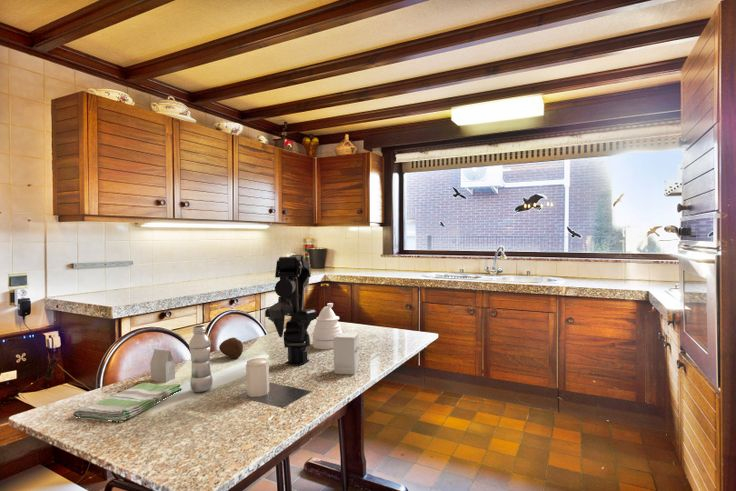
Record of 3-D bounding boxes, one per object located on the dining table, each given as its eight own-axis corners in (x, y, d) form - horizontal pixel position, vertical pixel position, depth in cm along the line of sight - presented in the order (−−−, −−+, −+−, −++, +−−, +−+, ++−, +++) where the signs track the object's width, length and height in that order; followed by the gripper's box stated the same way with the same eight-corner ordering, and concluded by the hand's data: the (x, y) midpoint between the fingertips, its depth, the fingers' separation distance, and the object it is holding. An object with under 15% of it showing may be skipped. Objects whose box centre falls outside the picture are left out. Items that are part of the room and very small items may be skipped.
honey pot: (348, 343, 179) (347, 302, 178) (330, 350, 168) (329, 306, 167) (325, 339, 186) (324, 300, 185) (306, 346, 175) (305, 304, 174)
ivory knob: (244, 392, 122) (243, 361, 122) (262, 387, 126) (261, 356, 126) (253, 398, 118) (252, 365, 118) (272, 392, 122) (271, 360, 122)
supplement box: (354, 374, 138) (353, 337, 137) (333, 374, 139) (332, 337, 139) (359, 367, 145) (358, 332, 145) (339, 367, 146) (338, 331, 146)
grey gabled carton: (166, 382, 136) (165, 352, 135) (151, 380, 138) (149, 350, 138) (175, 378, 139) (173, 349, 139) (160, 376, 142) (159, 347, 141)
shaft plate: (235, 399, 120) (235, 384, 120) (267, 384, 131) (267, 371, 131) (282, 410, 111) (282, 395, 111) (312, 393, 122) (312, 379, 122)
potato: (236, 361, 157) (236, 340, 157) (215, 359, 160) (215, 339, 160) (248, 355, 164) (247, 336, 163) (228, 354, 167) (227, 334, 167)
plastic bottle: (191, 396, 123) (188, 329, 122) (189, 389, 129) (187, 325, 128) (214, 392, 126) (211, 327, 125) (211, 385, 132) (209, 323, 131)
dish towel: (70, 420, 110) (69, 407, 110) (137, 388, 132) (137, 377, 132) (123, 425, 106) (123, 412, 106) (183, 391, 128) (183, 380, 128)
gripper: (252, 295, 138) (254, 341, 139) (295, 297, 129) (296, 347, 129) (275, 290, 148) (276, 333, 148) (316, 293, 139) (318, 339, 139)
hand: (291, 338), depth 141 cm, fingers open, 9 cm apart
